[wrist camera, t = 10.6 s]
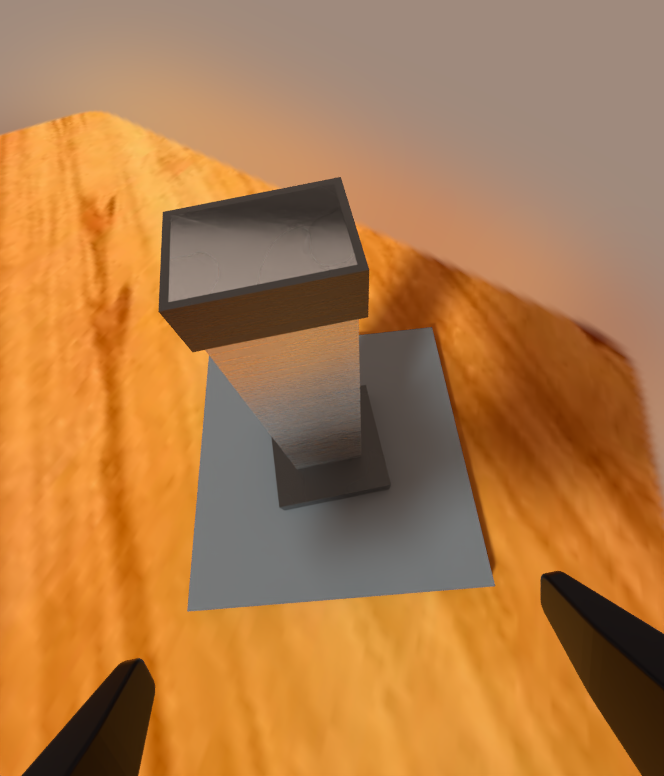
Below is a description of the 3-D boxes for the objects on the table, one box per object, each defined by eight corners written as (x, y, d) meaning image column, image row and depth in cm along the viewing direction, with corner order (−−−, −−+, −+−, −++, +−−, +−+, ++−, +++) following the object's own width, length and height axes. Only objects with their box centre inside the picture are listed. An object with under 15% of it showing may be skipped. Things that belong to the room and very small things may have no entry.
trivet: (488, 584, 15) (495, 586, 15) (195, 609, 16) (187, 611, 15) (429, 335, 21) (431, 327, 20) (214, 358, 21) (209, 351, 21)
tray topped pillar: (389, 489, 17) (451, 329, 5) (284, 510, 17) (94, 401, 5) (365, 394, 19) (369, 126, 7) (273, 413, 19) (122, 175, 7)
